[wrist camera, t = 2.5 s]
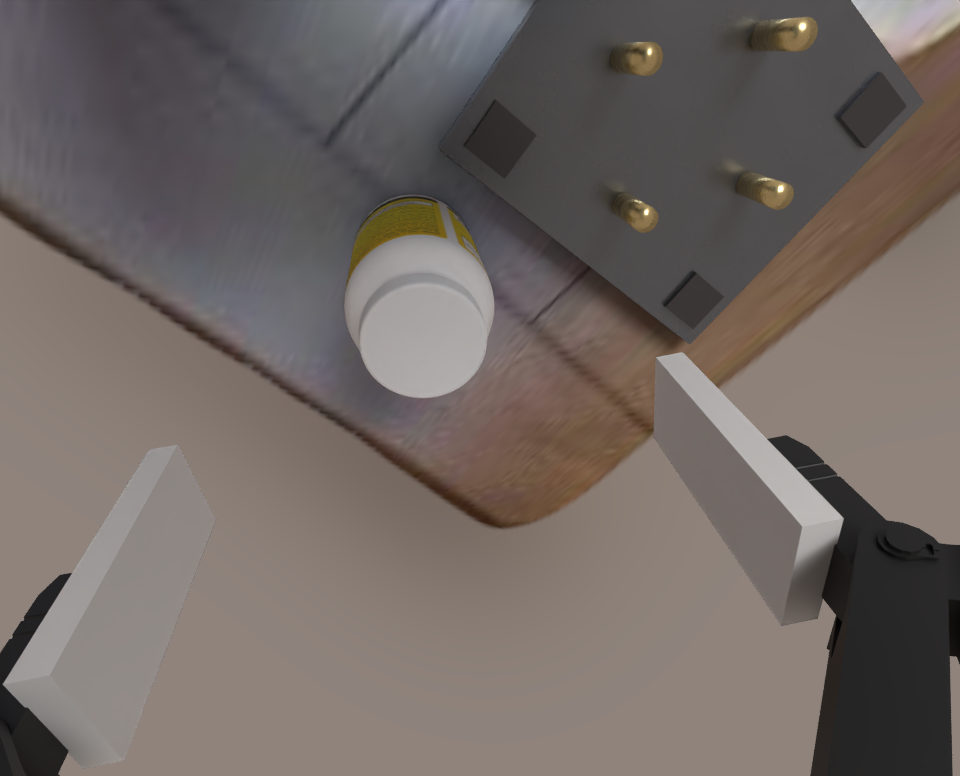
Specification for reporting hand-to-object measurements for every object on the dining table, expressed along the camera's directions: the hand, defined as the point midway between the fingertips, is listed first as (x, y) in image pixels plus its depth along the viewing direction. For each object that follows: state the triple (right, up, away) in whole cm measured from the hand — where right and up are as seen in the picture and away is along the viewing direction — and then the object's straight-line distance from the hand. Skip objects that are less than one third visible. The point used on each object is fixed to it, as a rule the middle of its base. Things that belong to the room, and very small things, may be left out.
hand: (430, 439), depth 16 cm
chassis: (+11, +15, +13) cm, 22 cm away
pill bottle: (-2, +9, +14) cm, 17 cm away
